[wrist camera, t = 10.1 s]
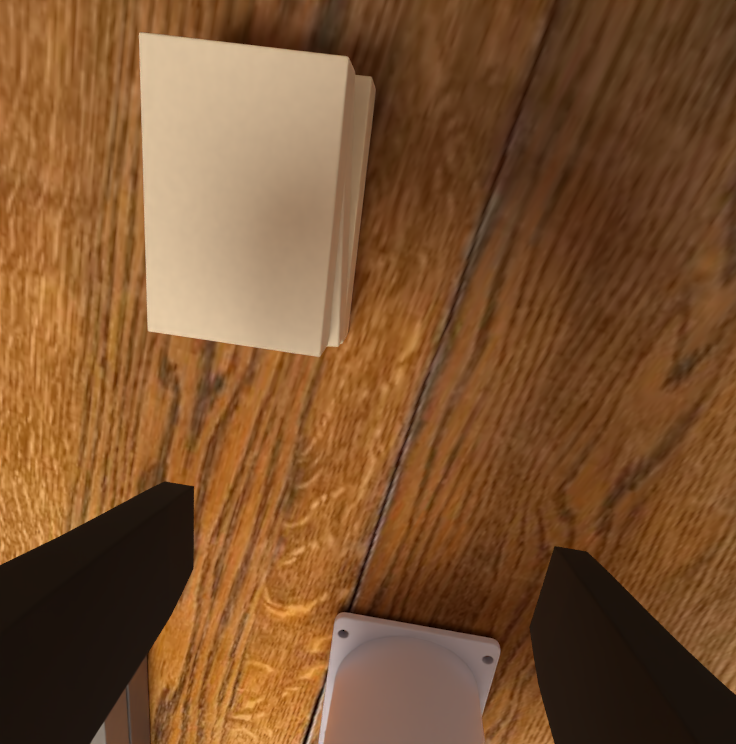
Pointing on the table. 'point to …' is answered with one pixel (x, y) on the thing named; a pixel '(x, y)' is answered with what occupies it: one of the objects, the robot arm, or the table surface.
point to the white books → (352, 206)
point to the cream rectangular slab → (242, 189)
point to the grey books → (128, 714)
